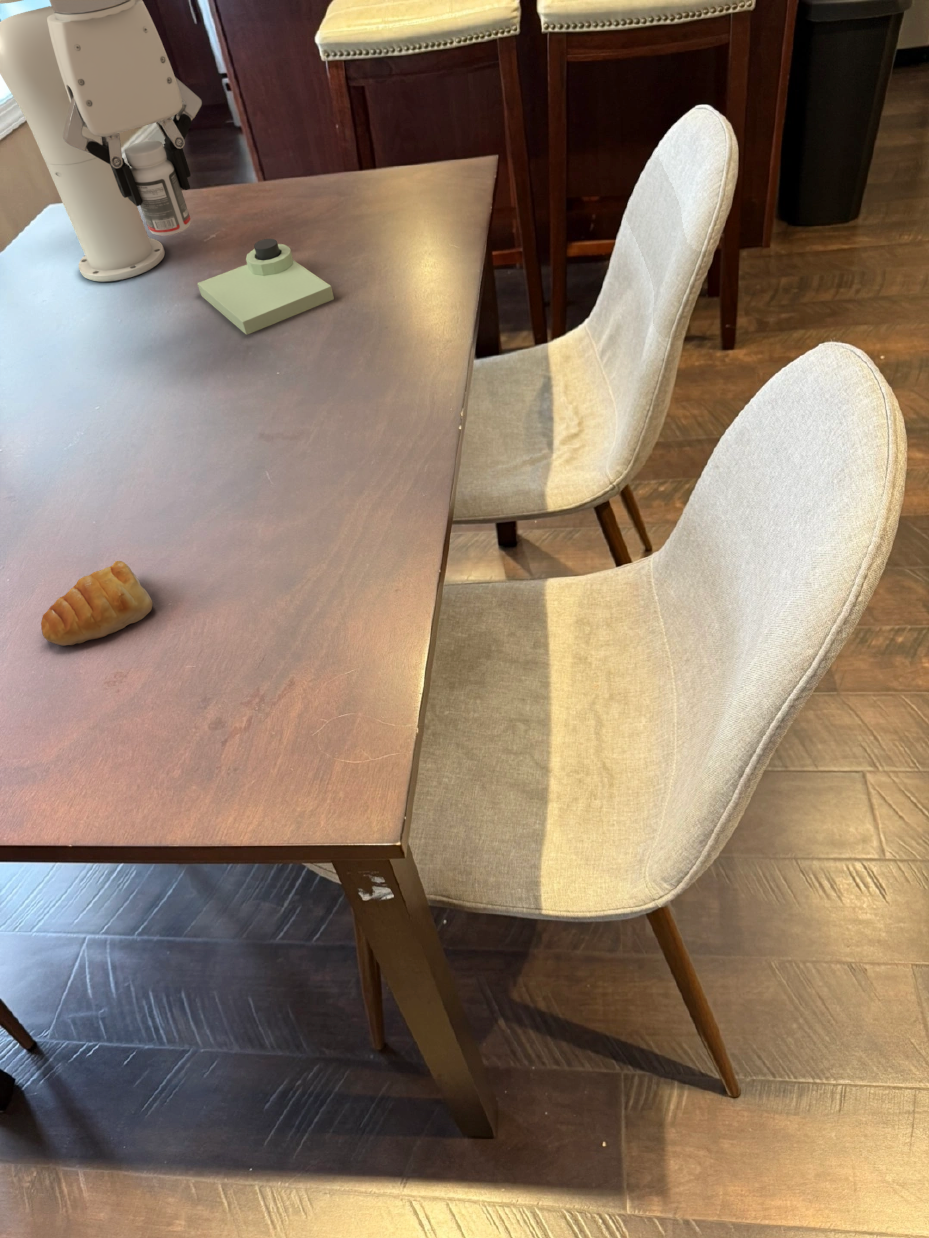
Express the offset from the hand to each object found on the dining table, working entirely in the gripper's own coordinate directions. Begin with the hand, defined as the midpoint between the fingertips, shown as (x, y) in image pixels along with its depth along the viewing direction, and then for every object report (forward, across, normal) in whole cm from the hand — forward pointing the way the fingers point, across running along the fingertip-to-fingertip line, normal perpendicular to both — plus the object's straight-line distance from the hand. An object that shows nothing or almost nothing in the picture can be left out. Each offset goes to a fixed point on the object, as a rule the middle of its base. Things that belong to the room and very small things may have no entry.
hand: (158, 192), depth 93 cm
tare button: (+17, -15, -14) cm, 27 cm away
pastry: (+19, +26, +36) cm, 48 cm away
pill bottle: (+4, 0, 0) cm, 4 cm away
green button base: (+20, -12, -10) cm, 25 cm away
